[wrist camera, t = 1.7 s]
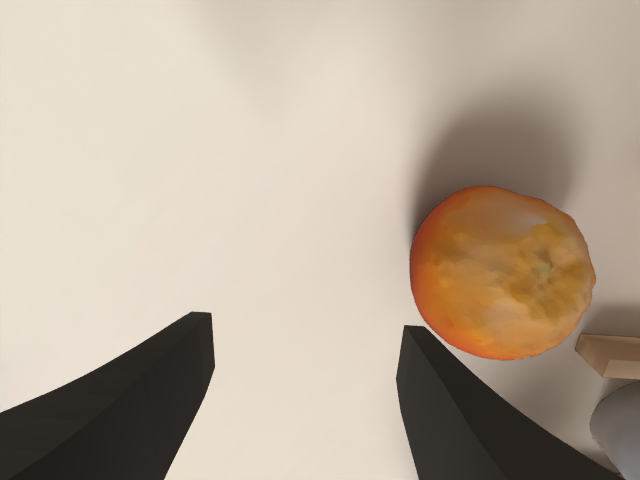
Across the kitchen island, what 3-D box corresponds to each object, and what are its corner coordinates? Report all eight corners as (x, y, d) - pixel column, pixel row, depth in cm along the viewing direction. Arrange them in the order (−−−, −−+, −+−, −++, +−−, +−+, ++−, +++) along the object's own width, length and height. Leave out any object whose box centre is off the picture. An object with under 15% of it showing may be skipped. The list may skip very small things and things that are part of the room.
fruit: (354, 306, 20) (427, 318, 12) (407, 191, 22) (500, 136, 14) (469, 366, 21) (603, 412, 13) (510, 251, 23) (650, 233, 15)
